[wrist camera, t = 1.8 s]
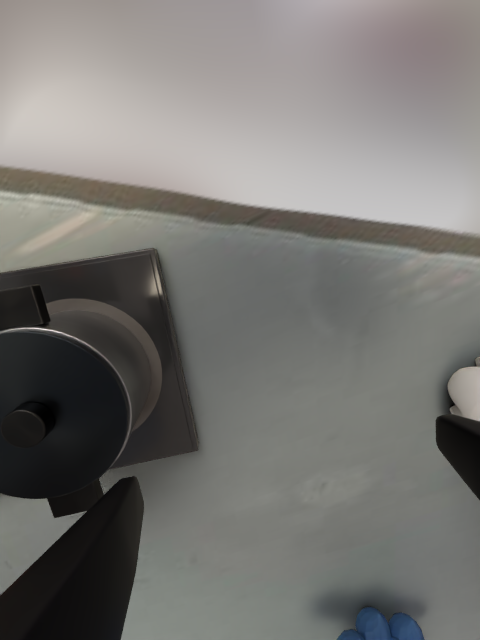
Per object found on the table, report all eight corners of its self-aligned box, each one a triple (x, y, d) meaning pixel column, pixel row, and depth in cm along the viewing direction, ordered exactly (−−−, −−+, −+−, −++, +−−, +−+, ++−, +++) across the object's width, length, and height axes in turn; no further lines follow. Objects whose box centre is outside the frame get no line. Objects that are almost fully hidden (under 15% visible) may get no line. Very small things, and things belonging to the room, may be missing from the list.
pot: (42, 471, 20) (-33, 564, 14) (-19, 295, 17) (-142, 313, 11) (169, 444, 20) (152, 521, 14) (127, 270, 18) (85, 275, 12)
